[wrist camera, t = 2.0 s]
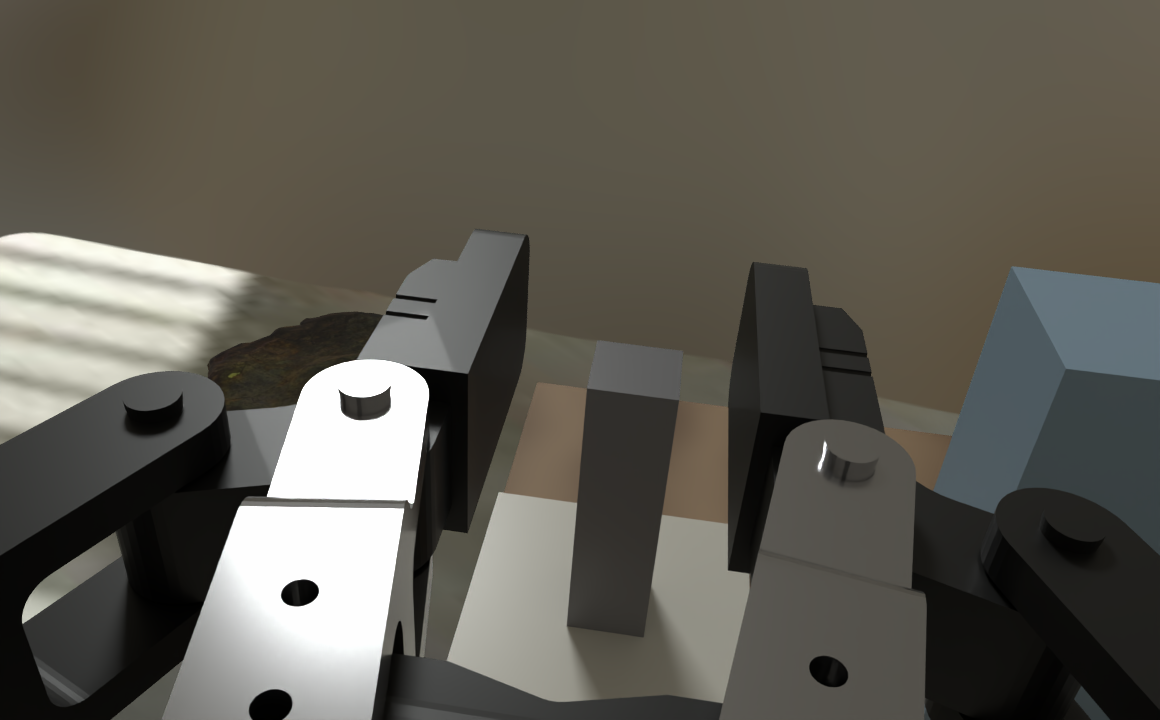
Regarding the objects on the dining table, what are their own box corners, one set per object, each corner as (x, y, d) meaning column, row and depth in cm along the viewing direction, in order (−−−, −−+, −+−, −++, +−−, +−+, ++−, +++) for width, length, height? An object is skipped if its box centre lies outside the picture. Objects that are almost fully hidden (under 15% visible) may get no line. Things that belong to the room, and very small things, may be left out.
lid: (435, 715, 28) (429, 449, 23) (498, 508, 35) (504, 271, 30) (748, 765, 27) (818, 502, 22) (744, 543, 35) (795, 307, 29)
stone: (309, 624, 34) (302, 563, 32) (46, 535, 37) (28, 474, 35) (505, 373, 48) (507, 323, 47) (306, 323, 51) (301, 273, 50)
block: (899, 774, 30) (1065, 368, 21) (878, 646, 34) (1011, 266, 26) (1066, 800, 29) (1301, 397, 21) (1024, 668, 33) (1206, 289, 25)
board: (382, 961, 25) (377, 910, 23) (535, 427, 44) (537, 382, 43) (1235, 1112, 23) (1284, 1067, 22) (1007, 490, 42) (1025, 445, 41)
